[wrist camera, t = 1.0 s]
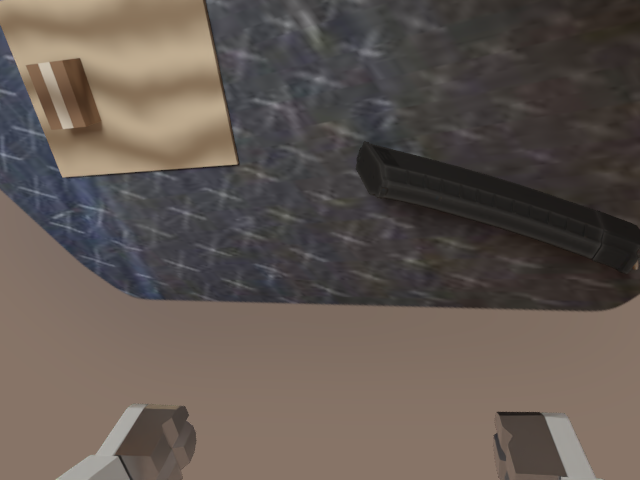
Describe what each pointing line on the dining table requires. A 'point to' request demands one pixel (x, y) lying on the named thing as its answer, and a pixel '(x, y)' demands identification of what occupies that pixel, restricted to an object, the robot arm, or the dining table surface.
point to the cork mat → (129, 81)
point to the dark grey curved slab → (499, 205)
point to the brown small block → (64, 93)
